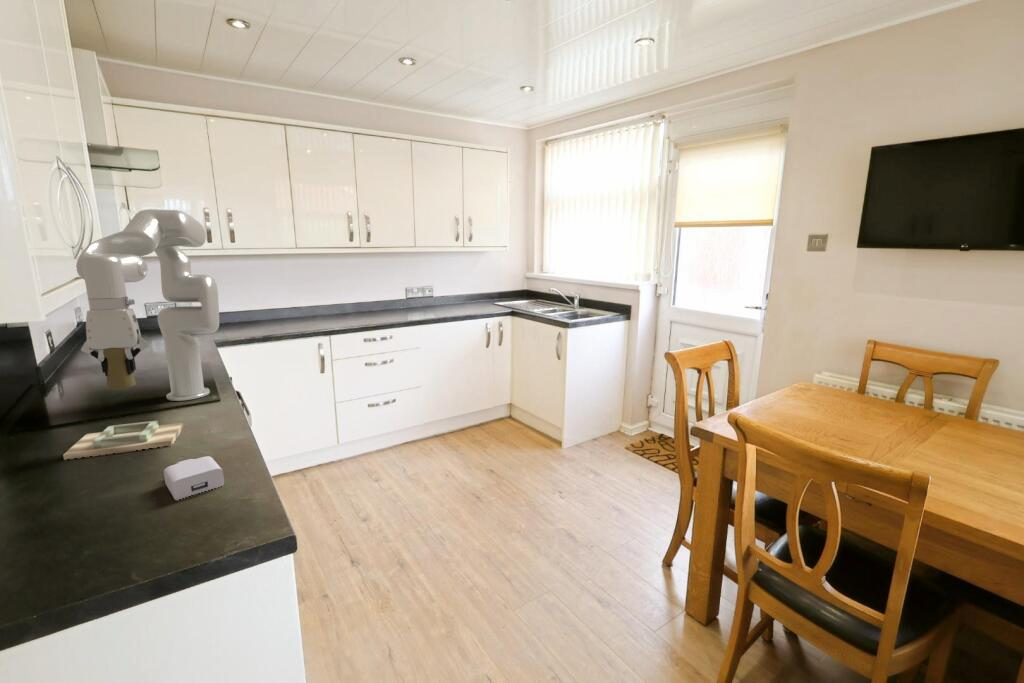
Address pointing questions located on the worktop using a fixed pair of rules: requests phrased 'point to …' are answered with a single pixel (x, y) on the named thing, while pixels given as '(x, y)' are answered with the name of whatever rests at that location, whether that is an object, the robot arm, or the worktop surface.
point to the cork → (117, 369)
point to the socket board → (125, 439)
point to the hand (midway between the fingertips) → (120, 373)
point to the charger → (193, 477)
